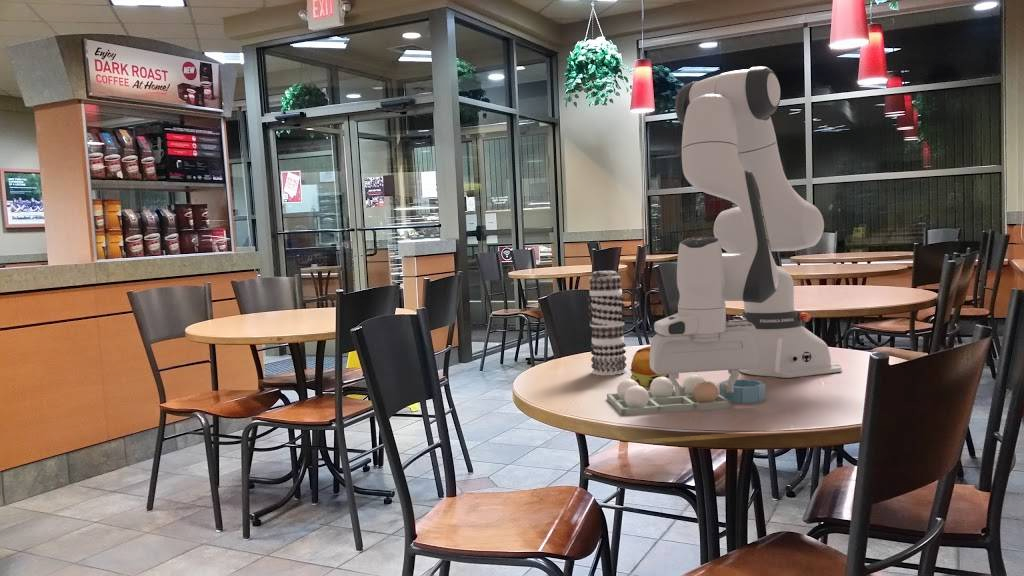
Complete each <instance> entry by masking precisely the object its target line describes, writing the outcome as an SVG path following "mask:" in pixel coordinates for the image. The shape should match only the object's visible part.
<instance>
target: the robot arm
mask: <svg viewBox="0 0 1024 576" xmlns="http://www.w3.org/2000/svg"><path fill="white" fill-rule="evenodd" d="M780 101H781V86H780V82H779V80H778V76H777V75H776V73H775V72H774V70H772V69H771V68H769V67H767V66H752V67H750V68H748V69H747V68H746V69H738V70H736V69H735V70H731V71H727V72H722V73H720V74H717V75H713V76H711V77H707V78H704V79H702V80H699V81H698V80H697V81H691V82H689V83H687V84H685V85H684V86H682V87H681V88H680V90H679V91H678V92H677V95H676V97H675V103H674V106H675V107H674V109H675V114H676V118H677V121H679V123H680V125H682V136H681V165H682V166H681V167H682V173H683V175H684V178H685V179H686V181H687V182H688V183H689V184H690V185H691V186H692V187H694V188H695V189H697V190H699V191H700V192H703V193H704V194H708V195H710V196H713V197H714V196H715V197H717V198H720V199H724V200H727V201H729V202H731V203H733V204H735V205H736V206H735V207H731V208H729V209H726V210H725V209H724V210H723V211H721V212H720V213H719V214H718V215H717V217H715V218H716V219H715V220H714V225H713V235H714V236H706V235H704V236H694V237H689V238H685V239H683V240H682V241H681V242H679V245H678V250H677V251H678V253H677V259H676V261H677V262H676V270H675V271H676V273H675V277H676V288H677V290H678V293H679V300H678V303H677V313H674V314H672V315H670V316H667V317H664V318H662V319H659V320H657V321H655V322H654V324H653V329H654V332H656V333H655V334H654V336H653V337H652V339H651V341H650V345H649V346H650V368H651V370H652V371H653V372H655V373H656V374H669V378H670V380H671V382H672V383H673V387H674V389H675V395H676V396H685V387H683V385H680V384H679V382H678V381H677V380H679V378H680V374H685V373H689V374H690V373H699V372H700V373H703V372H704V373H705V372H718V371H720V372H721V371H727V372H728V374H730V375H729V378H728V379H727V380H728V381H727V383H723V387H724V388H723V391H724V393H734V384H735V382H736V380H737V379H739V376H740V372H741V373H743V374H747V375H752V376H764V377H775V378H783V379H785V378H786V379H787V378H788V379H789V378H797V377H805V376H813V375H814V376H815V375H823V374H832V373H840V372H842V365H840V364H839V363H836V362H834V361H832V359H831V353H830V349H829V345H827V344H828V343H826V342H825V341H824V340H823V339H821V338H820V337H819V336H817V335H816V334H814V333H813V332H812V331H810V330H808V328H806V327H804V326H803V322H806V323H807V322H809V321H810V320H811V318H812V317H811V314H810V313H808V312H803V311H802V312H799V311H797V310H796V309H795V293H794V292H795V291H794V285H795V283H794V279H793V278H792V277H793V276H791V274H790V273H789V272H788V271H787V270H786V269H783V268H782V267H780V266H778V265H777V264H776V261H775V259H774V257H773V253H772V252H794V251H800V250H803V249H808V248H811V247H812V248H813V247H815V246H816V245H817V244H818V243H819V242H820V240H821V238H822V237H823V233H824V229H825V221H824V217H823V215H822V213H821V211H820V210H819V209H818V207H817V206H816V205H814V204H812V203H810V202H808V201H807V200H805V199H804V198H803V197H801V196H800V195H799V194H798V192H797V191H796V190H795V189H794V188H793V186H792V185H791V183H790V182H789V180H788V178H787V176H786V174H785V171H784V167H783V164H782V160H781V156H780V151H779V146H778V140H777V135H776V132H775V126H774V124H773V120H772V117H771V116H772V115H773V114H774V113H775V112H776V111H777V109H778V107H779V106H780ZM722 250H724V251H725V252H723V251H722ZM726 302H743V307H744V308H743V309H744V310H743V311H742V320H727V313H726V312H727V311H726V310H727V309H726V308H727V307H726Z"/></svg>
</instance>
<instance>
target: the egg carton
mask: <svg viewBox="0 0 1024 576" xmlns="http://www.w3.org/2000/svg"><path fill="white" fill-rule="evenodd" d="M701 381H706V380H705V379H704V377H702V376H701V375H700V374H696V373H695V374H690V375H688V376H686V377H685V379H683V383H682V386H683V387H685V396H676V395H675V386H674V385H673V384H672V382H671V381H670V380H669V379H668V378H666V377H657V378H655V379H654V380H653V381H652V382H651V385H650V387H649V390H647V389H646V387H642V386H639V384H638V383H637V382H636V381H634V380H632V379H631V378H625V379H623V380H621V381H620V382H619V383H618V385H617V387H616V392H614V393H607V394H606V400H607V401H608V402H609V403H610V404H611V405H612V406H613V408H614V409H615V410H616V411H617V412H618V413H619V414H620V415H621V416H633V415H634V416H635V415H637V416H638V415H650V414H664V413H676V412H677V413H678V412H690V411H691V412H692V411H706V410H708V411H709V410H719V409H720V410H721V409H732V408H733V404H732V403H733V402H731V401H730V400H728V399H726V398H724V397H723V396H721V395H720V393H718V397H717V399H716V401H715V402H709V403H699V402H697V401H696V399H695V398H694V395H693V390H694V387H695V386H696V384H697V383H699V382H701Z"/></svg>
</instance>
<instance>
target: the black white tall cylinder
mask: <svg viewBox="0 0 1024 576" xmlns="http://www.w3.org/2000/svg"><path fill="white" fill-rule="evenodd" d="M621 278H622V276H621V275H619V273H618V271H616V270H598V271H593V272H592V274H591V276H590V277H588V279H589V295H588V297H587V298H586V301H587V302H588V303H590V304H588V307H587V309H588V310H589V312H588V316H589V317H591V319H589V326H590V327H591V335H592V336H591V344H590V348H591V349H592V350H591V351H590V354H591V355H593V356H592V357H591V359H590V360H591V363H592V364H591V368H592V369H593V370H591V373H592V374H593V375H595V374H596V376H616V375H615V374H619V375H622V374H621V373H624V374H626V373H627V370H626V367H627V365H628V364H627V363H626V360H627V357H626V356H625V355H624V354H626V353H627V351H626V350H625V347H626V345H627V344H626V343H625V336H624V328H623V327H624V325H625V320H626V319H625V318H624V317H623V316H624V315H625V312H624V311H623V310H622V308H624V307H625V306H626V304H625V303H624V301H625V297H624V296H623V289H622V287H621V286H622V282H621ZM625 372H626V373H625Z"/></svg>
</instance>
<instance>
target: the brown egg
mask: <svg viewBox="0 0 1024 576" xmlns="http://www.w3.org/2000/svg"><path fill="white" fill-rule="evenodd" d="M718 394H719V390H718V388H717V386H716V385H715V383H714V382H712V381H709V380H705V381H701V382H699V383H697V384H696V386H695V387H694V390H693V395H694V398H695V399H696V401H697V402H699V403H709V402H715V401H716V399H717V397H718Z"/></svg>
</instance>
